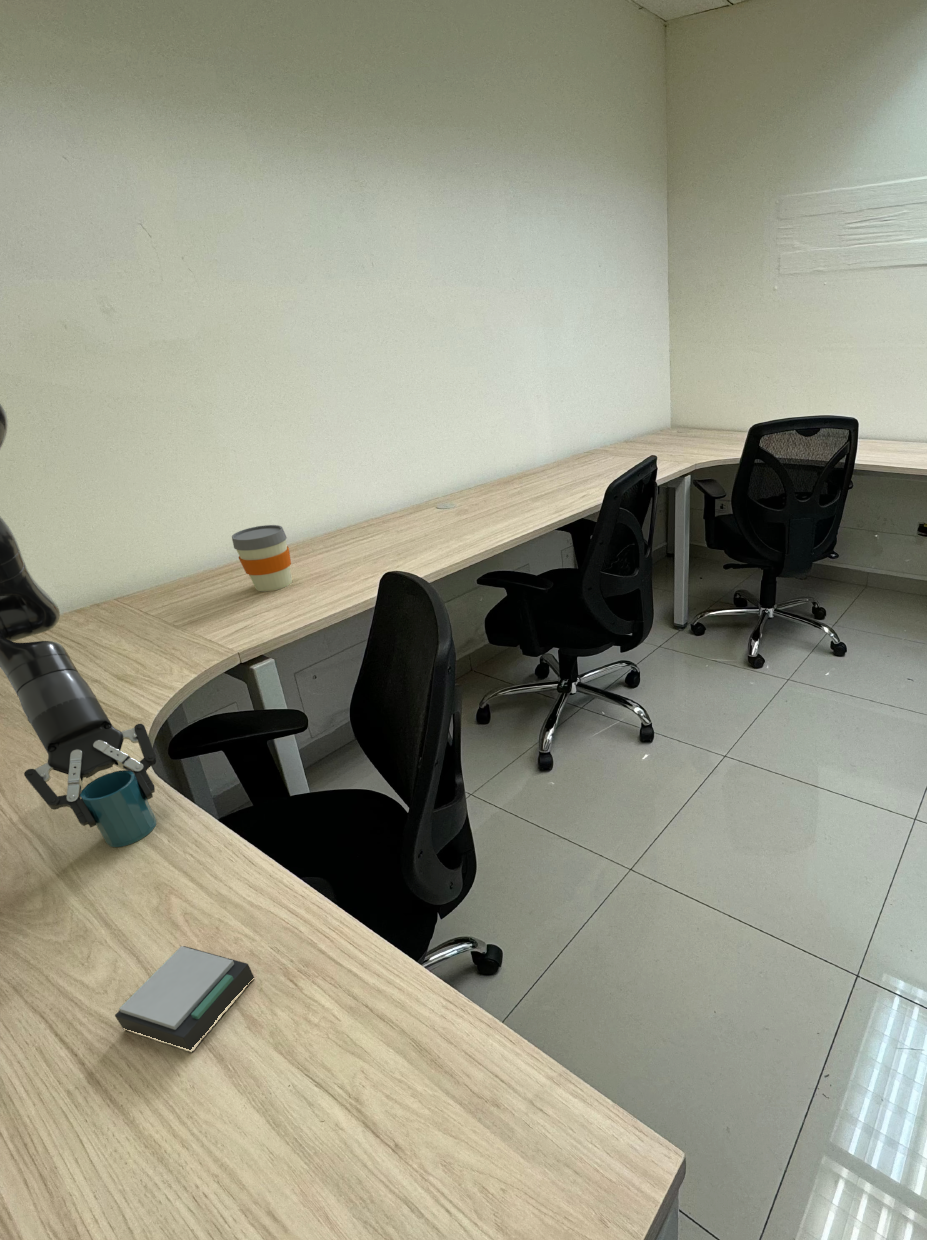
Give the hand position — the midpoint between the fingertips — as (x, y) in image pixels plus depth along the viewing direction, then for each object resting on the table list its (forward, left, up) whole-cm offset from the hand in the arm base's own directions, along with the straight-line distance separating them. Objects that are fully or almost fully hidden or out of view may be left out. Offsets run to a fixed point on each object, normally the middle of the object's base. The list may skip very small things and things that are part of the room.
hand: (122, 810), depth 89 cm
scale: (+29, -17, -5) cm, 34 cm away
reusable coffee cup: (-52, +82, -5) cm, 97 cm away
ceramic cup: (-2, +1, -5) cm, 5 cm away
